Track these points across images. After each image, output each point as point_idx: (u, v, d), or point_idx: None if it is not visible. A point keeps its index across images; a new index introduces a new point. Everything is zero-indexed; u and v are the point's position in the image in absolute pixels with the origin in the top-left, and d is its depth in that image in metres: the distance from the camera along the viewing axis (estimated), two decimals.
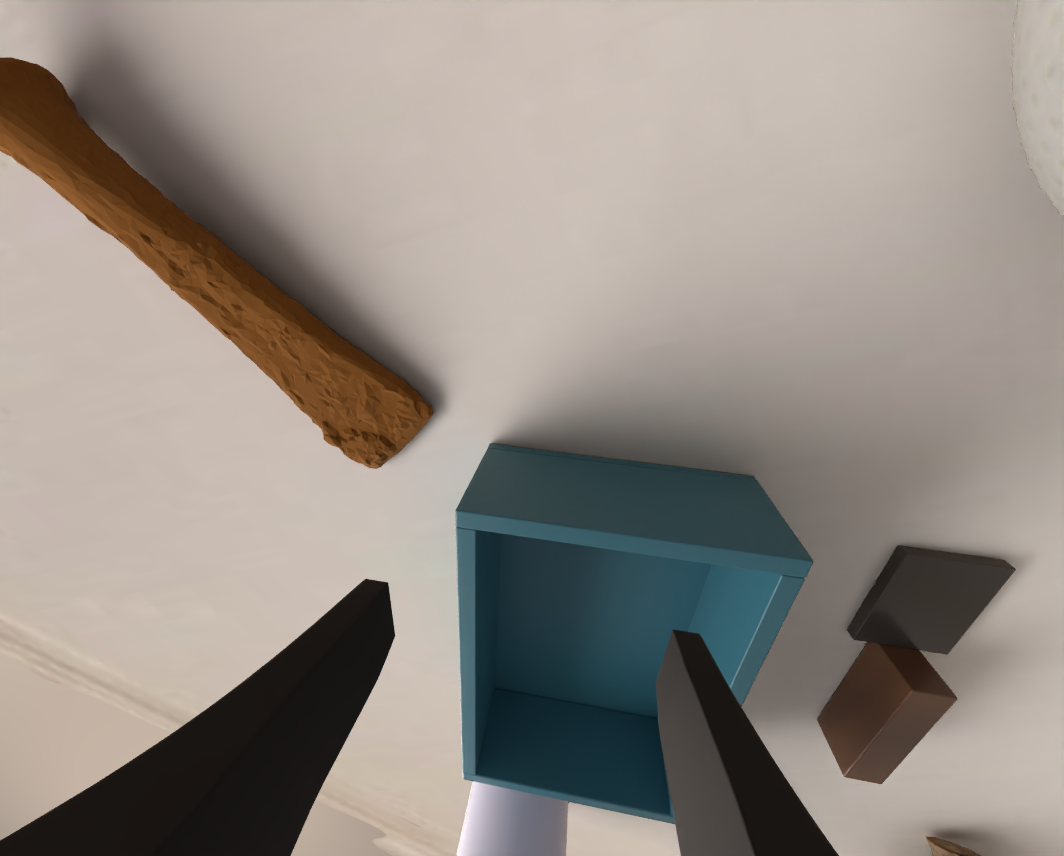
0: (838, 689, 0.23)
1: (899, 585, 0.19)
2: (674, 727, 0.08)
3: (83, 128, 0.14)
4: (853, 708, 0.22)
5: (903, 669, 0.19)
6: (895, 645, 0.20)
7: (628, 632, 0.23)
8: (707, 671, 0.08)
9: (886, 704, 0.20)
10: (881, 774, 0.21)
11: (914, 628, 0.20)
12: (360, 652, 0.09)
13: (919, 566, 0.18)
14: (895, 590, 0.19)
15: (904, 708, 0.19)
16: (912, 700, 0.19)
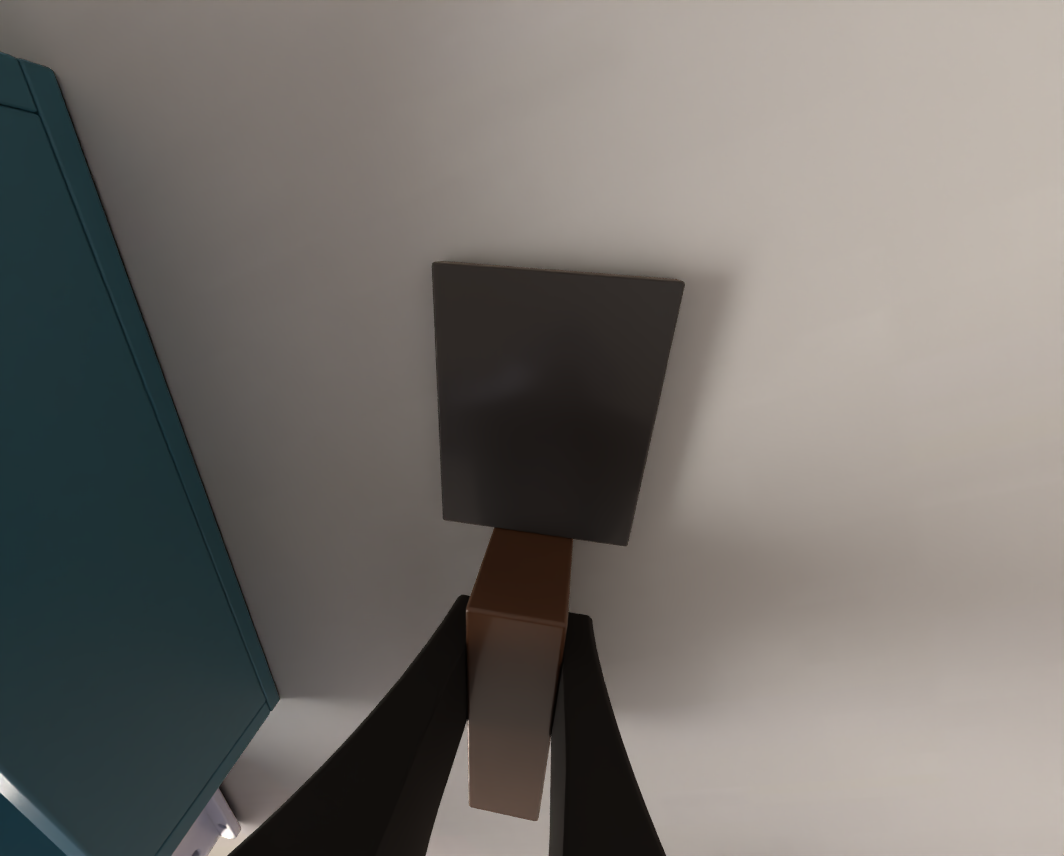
0: None
1: (458, 364, 0.08)
2: None
3: None
4: None
5: (493, 569, 0.08)
6: (527, 530, 0.10)
7: None
8: (581, 649, 0.08)
9: None
10: (524, 802, 0.10)
11: (538, 483, 0.09)
12: None
13: (473, 300, 0.07)
14: (457, 380, 0.08)
15: (475, 655, 0.08)
16: (477, 633, 0.08)
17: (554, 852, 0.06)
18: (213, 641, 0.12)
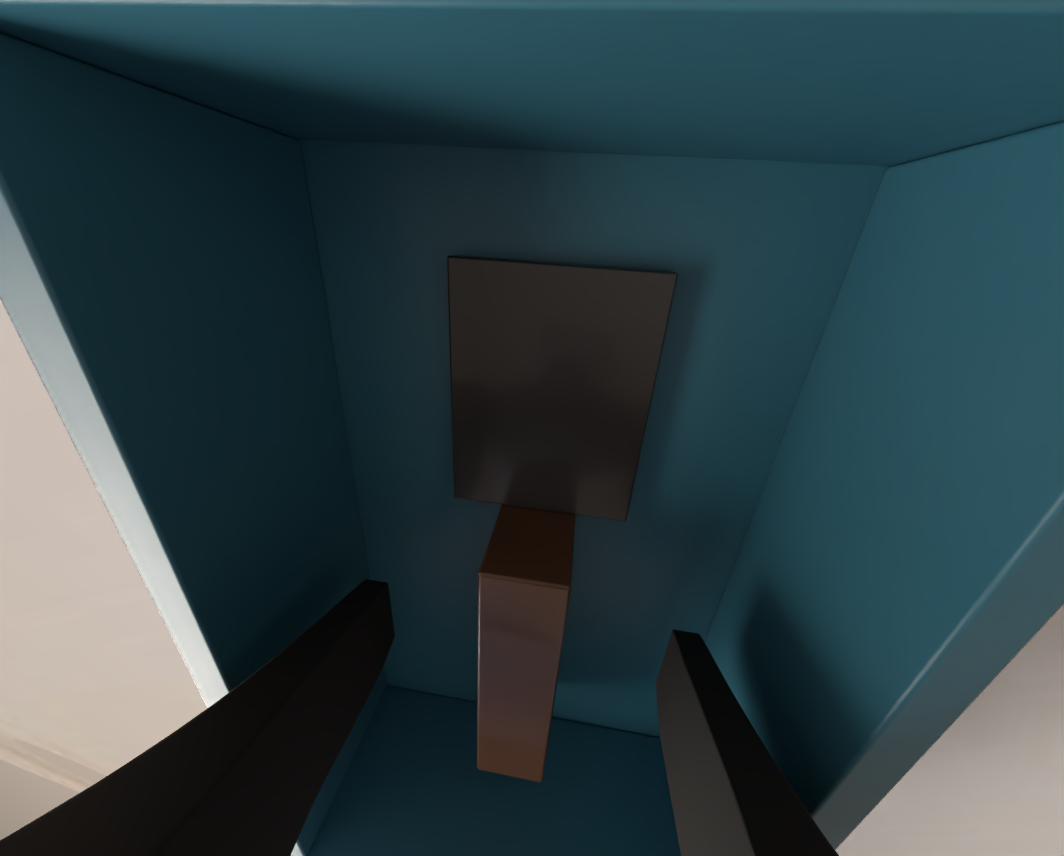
0: None
1: (470, 350, 0.09)
2: (674, 727, 0.08)
3: None
4: None
5: (502, 540, 0.09)
6: (532, 507, 0.10)
7: (613, 574, 0.12)
8: (707, 671, 0.08)
9: None
10: (529, 763, 0.11)
11: (543, 462, 0.10)
12: (360, 652, 0.09)
13: (485, 290, 0.08)
14: (469, 365, 0.09)
15: (486, 618, 0.09)
16: (488, 597, 0.08)
17: None
18: None
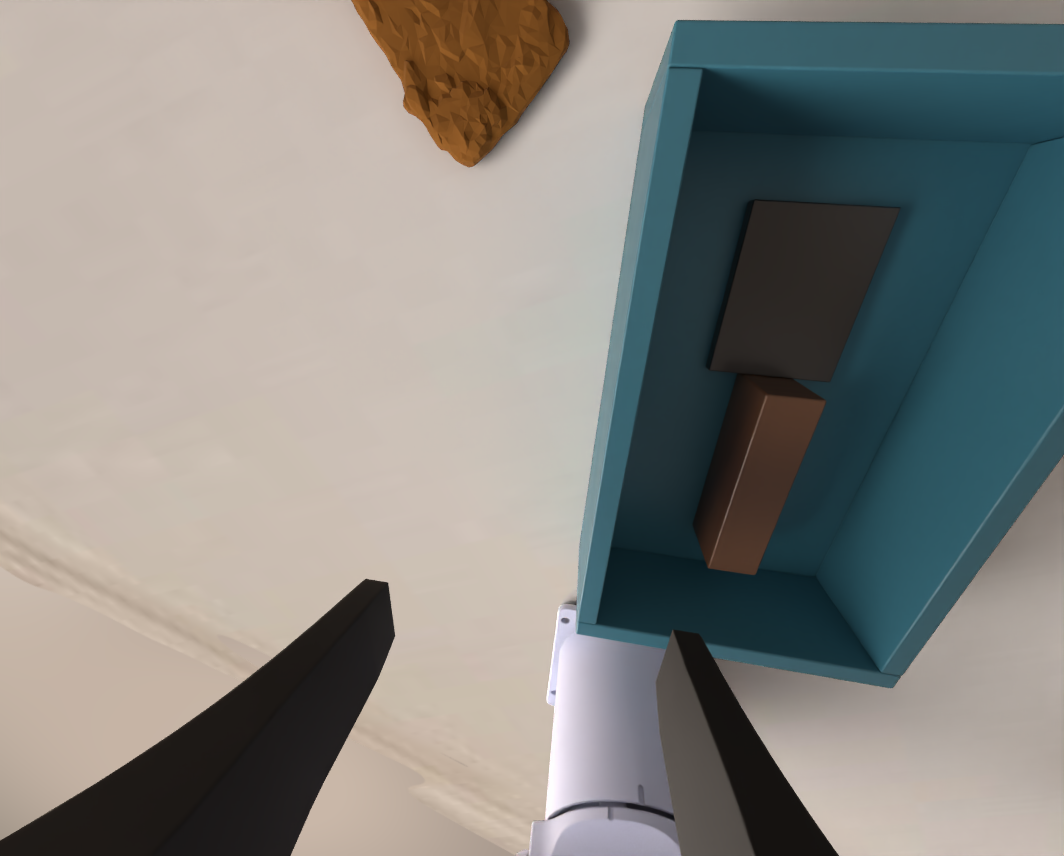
0: (709, 469, 0.18)
1: (752, 261, 0.14)
2: (674, 728, 0.08)
3: None
4: (719, 477, 0.17)
5: (763, 385, 0.14)
6: (763, 375, 0.15)
7: None
8: (707, 671, 0.08)
9: (744, 438, 0.15)
10: (752, 556, 0.16)
11: (782, 339, 0.15)
12: (360, 651, 0.09)
13: (774, 220, 0.13)
14: (748, 271, 0.14)
15: (761, 429, 0.14)
16: (768, 412, 0.14)
17: None
18: None
